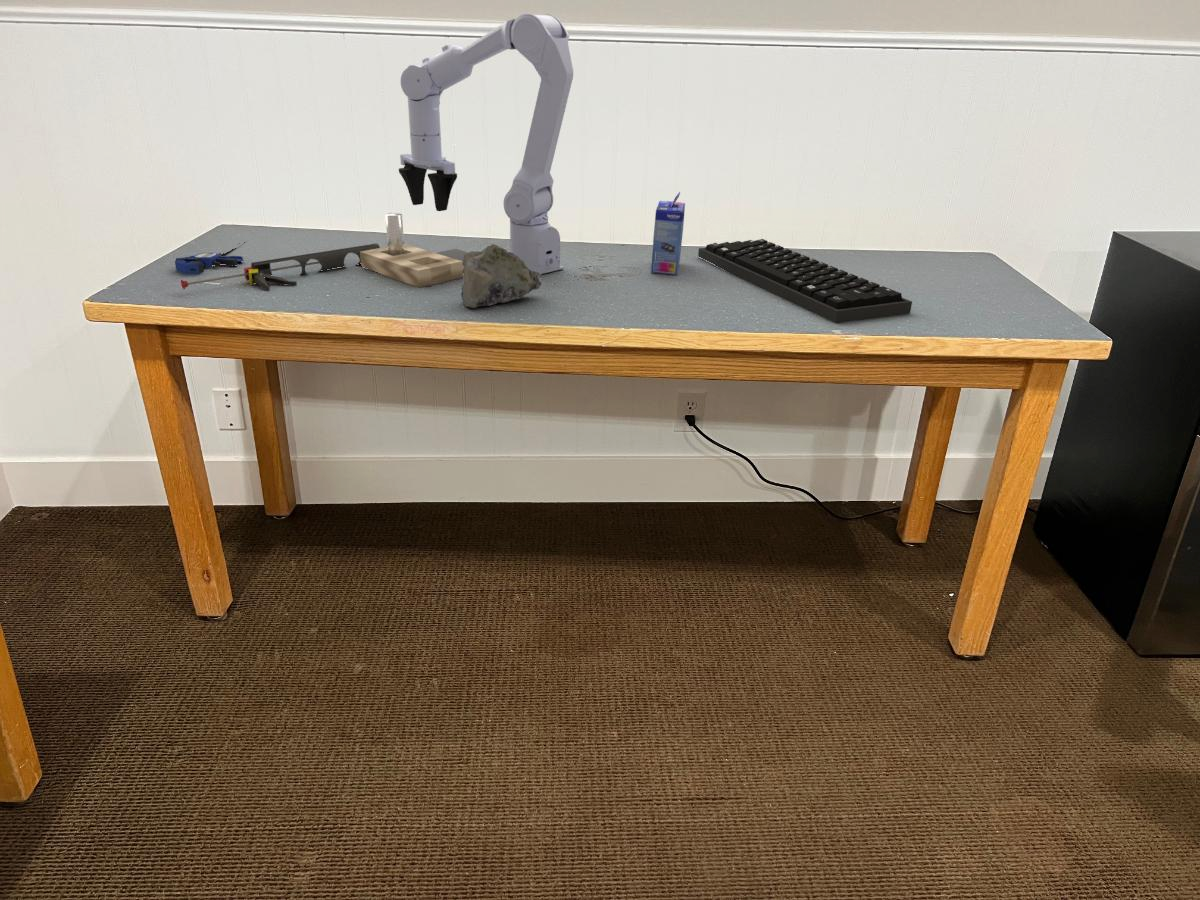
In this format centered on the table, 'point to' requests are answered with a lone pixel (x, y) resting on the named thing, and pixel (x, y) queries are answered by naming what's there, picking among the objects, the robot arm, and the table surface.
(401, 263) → the hole block
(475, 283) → the mineral rock
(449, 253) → the mat
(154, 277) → the table surface
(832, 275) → the computer keyboard
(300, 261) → the caulking gun
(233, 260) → the bar clamp
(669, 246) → the ink cartridge box
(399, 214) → the peg
